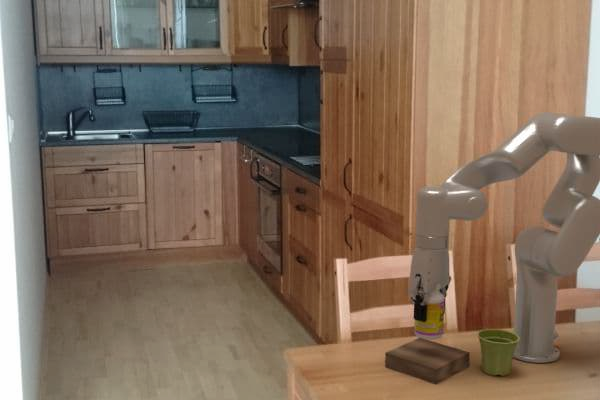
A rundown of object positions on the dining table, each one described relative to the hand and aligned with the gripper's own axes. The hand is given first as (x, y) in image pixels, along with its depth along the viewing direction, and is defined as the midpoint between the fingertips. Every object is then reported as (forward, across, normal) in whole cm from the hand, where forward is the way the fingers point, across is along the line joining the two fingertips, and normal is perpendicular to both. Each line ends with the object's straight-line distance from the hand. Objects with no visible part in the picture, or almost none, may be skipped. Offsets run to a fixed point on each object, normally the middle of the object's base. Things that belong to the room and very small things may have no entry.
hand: (429, 316), depth 175 cm
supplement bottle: (+5, 0, 0) cm, 5 cm away
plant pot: (+13, -9, +13) cm, 20 cm away
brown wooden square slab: (+12, 0, 0) cm, 12 cm away
